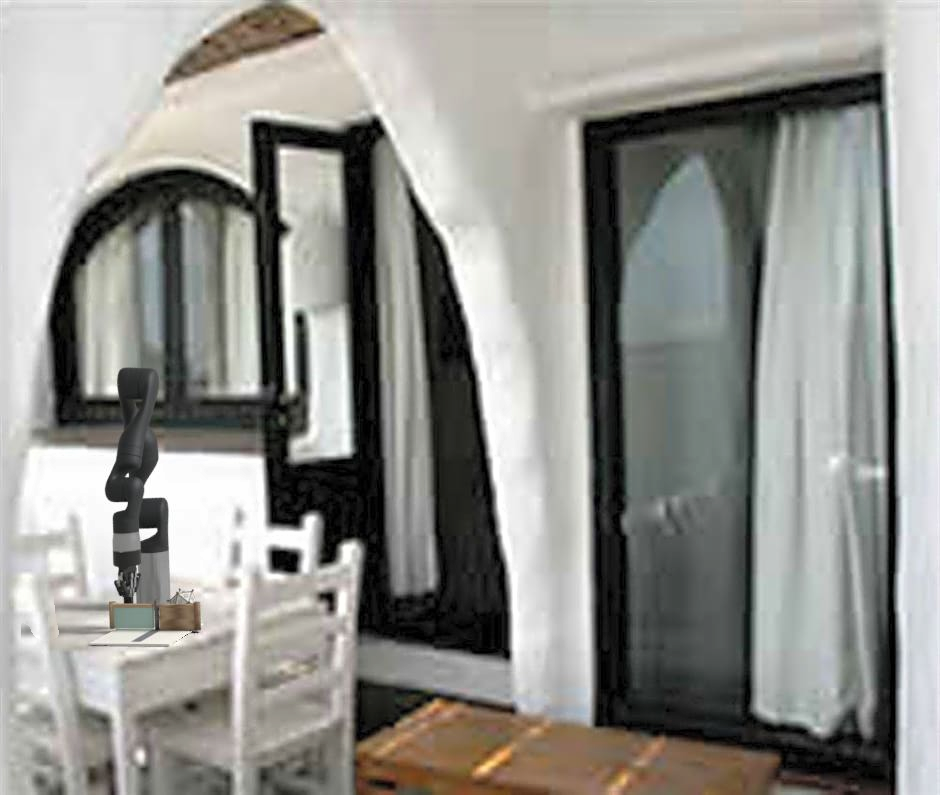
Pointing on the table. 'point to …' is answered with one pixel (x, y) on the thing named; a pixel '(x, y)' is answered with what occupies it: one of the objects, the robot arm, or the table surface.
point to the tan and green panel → (131, 616)
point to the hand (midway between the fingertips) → (128, 609)
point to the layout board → (141, 637)
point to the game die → (183, 597)
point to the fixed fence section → (177, 616)
